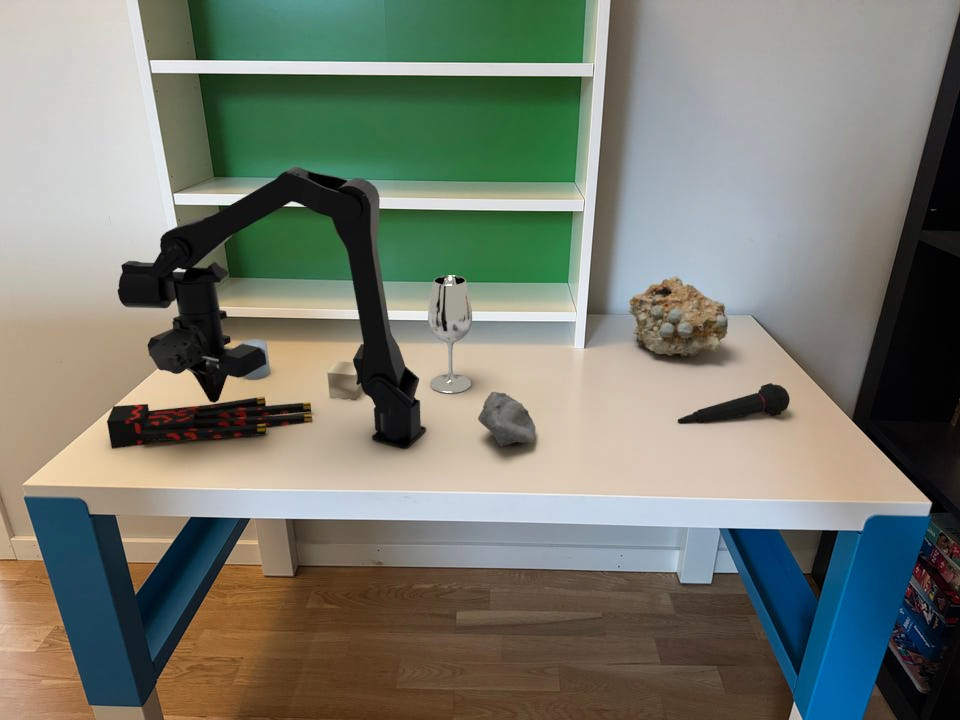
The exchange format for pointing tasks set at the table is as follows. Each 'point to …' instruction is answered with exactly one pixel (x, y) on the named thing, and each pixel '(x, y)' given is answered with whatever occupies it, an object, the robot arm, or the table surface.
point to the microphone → (745, 405)
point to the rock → (677, 319)
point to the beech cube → (344, 381)
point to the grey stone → (507, 419)
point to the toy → (200, 421)
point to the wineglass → (450, 325)
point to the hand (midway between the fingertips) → (214, 401)
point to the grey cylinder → (264, 369)
